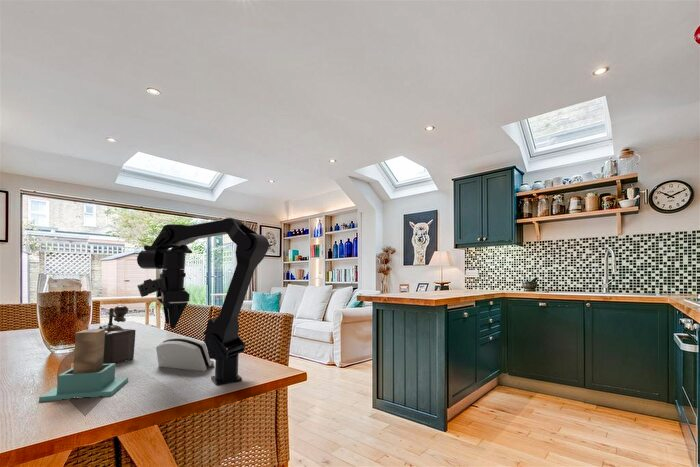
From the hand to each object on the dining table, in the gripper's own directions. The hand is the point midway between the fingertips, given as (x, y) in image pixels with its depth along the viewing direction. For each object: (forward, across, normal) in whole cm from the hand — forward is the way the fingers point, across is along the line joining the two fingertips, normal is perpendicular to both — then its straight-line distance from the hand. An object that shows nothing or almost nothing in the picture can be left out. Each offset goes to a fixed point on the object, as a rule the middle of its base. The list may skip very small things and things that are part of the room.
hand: (170, 325), depth 100 cm
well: (+13, +4, -18) cm, 22 cm away
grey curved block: (+14, -5, +5) cm, 15 cm away
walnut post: (+12, +4, -18) cm, 22 cm away
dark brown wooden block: (+14, -24, -12) cm, 30 cm away
